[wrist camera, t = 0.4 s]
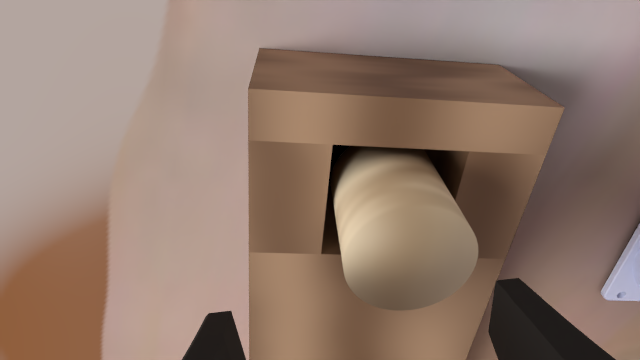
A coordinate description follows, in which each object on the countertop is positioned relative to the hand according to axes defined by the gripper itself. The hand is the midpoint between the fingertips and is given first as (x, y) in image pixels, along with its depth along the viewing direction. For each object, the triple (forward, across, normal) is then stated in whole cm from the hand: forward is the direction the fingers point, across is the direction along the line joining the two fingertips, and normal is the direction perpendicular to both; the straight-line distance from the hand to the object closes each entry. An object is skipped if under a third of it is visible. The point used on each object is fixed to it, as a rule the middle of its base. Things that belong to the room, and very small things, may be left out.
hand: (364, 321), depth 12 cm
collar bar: (+9, 0, +5) cm, 11 cm away
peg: (+6, -2, -1) cm, 6 cm away
